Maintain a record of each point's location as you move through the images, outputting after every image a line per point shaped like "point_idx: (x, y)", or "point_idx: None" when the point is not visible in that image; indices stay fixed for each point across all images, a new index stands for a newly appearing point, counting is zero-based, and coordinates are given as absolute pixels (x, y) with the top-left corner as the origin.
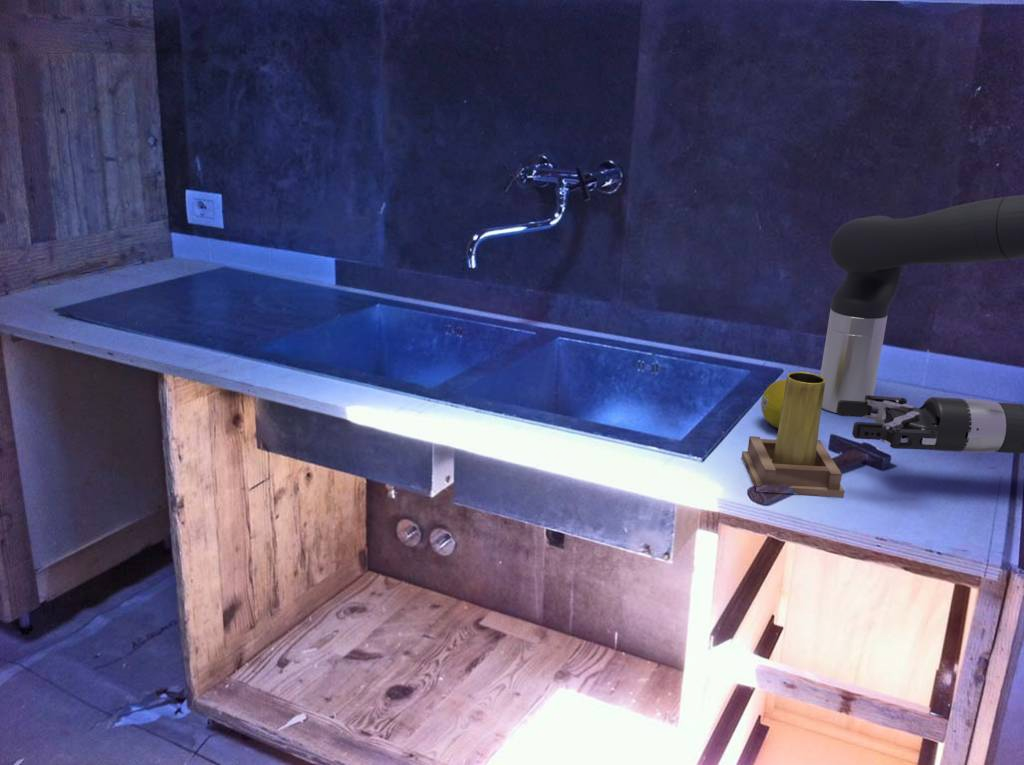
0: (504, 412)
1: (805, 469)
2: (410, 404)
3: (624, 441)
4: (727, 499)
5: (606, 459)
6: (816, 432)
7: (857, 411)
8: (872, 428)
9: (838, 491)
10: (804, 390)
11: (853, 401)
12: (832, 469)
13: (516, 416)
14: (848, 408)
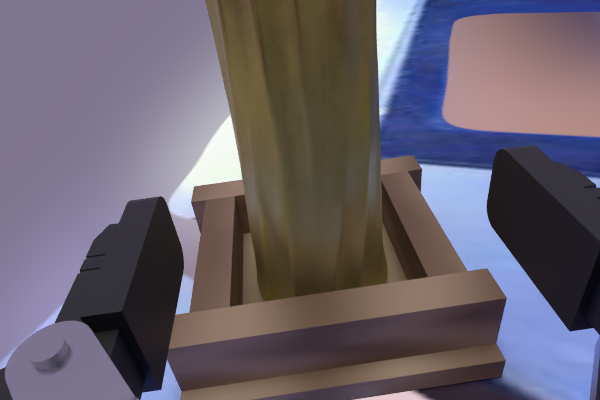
0: (421, 28)
1: (201, 254)
2: (396, 4)
3: (389, 90)
4: (174, 195)
5: None
6: (269, 181)
7: (554, 268)
8: (88, 274)
9: (182, 391)
10: None
11: (567, 188)
12: (205, 322)
13: (414, 34)
14: (521, 212)
